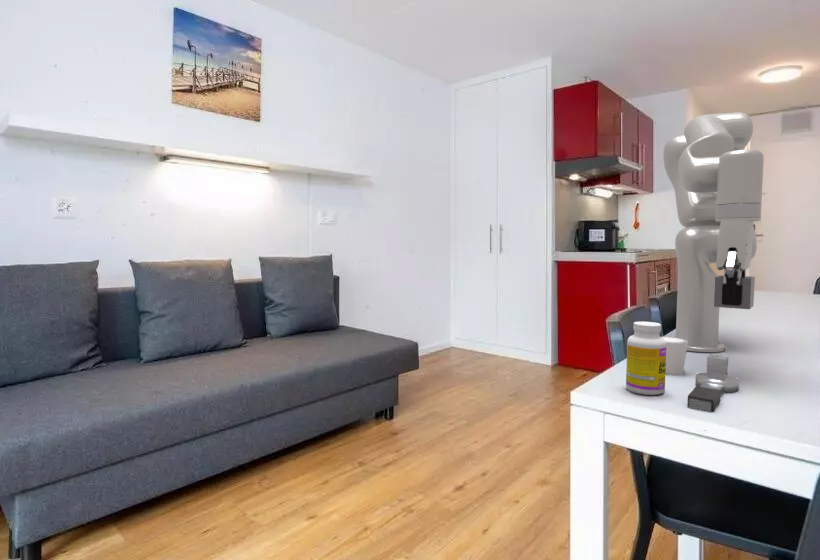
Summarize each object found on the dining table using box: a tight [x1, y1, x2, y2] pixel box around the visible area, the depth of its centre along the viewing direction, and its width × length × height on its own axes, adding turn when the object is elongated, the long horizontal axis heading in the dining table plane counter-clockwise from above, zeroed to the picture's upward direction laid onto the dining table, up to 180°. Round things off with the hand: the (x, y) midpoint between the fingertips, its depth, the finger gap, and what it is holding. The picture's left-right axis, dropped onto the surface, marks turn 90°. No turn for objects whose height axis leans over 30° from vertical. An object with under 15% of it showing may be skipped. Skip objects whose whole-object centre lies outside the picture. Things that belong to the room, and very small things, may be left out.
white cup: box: [661, 336, 688, 376], centre depth 104 cm, size 7×7×7 cm
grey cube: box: [714, 275, 756, 310], centre depth 98 cm, size 6×6×6 cm
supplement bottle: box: [625, 321, 667, 396], centre depth 91 cm, size 7×7×13 cm
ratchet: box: [686, 354, 740, 413], centre depth 88 cm, size 20×7×6 cm, turn 139°
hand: (733, 302), depth 98 cm, fingers closed on grey cube, 6 cm apart
